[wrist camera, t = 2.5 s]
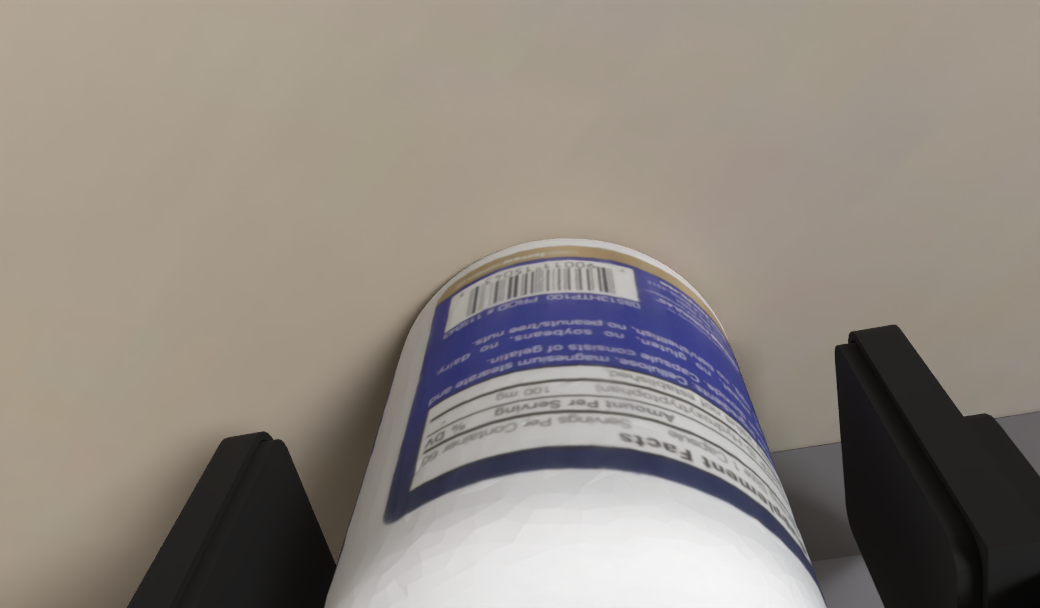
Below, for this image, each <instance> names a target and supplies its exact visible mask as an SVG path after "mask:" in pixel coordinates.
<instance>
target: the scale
mask: <svg viewBox="0 0 1040 608" xmlns="http://www.w3.org/2000/svg"><path fill="white" fill-rule="evenodd" d="M995 420H996V421H997V422H998V423H999V424H1000V426H1001V427H1002V428H1003V429H1004V431H1005V432H1006V433H1007V435H1008V436H1009V437H1010V438H1011V440H1012V441H1013V442H1014V444H1015V445H1016V446H1017V448H1018V449H1019V450H1020V451H1021V453H1022V454H1023V455H1024V457H1025V458H1026V459H1027V460H1028V462H1029V463H1030V464H1031V466H1032V467H1033V468H1034V469H1035V471H1036V472H1037V473H1038V475H1039V476H1040V412H1036V413H1029V414H1023V415H1016V416H1010V417H1003V418H997V419H995ZM770 454H771V457H772V460H773V463H774V465H775V468H776V471H777V474H778V476H779V479H780V482H781V484H782V486H783V489H784V491H785V493H786V496H787V499H788V501H789V504H790V507H791V510H792V512H793V515H794V518H795V520H796V523H797V527H798V529H799V532H800V534H801V537H802V540H803V543H804V545H805V548H806V551H807V553H808V556H809V558H810V560H811V563H812V565H813V567H814V571H815V574H816V577H817V580H818V583H819V586H820V588H821V591H822V593H823V596H824V599H825V602H826V605H827V608H884V605H883V603H882V601H881V598H880V596H879V594H878V591H877V589H876V587H875V585H874V582H873V580H872V578H871V575H870V573H869V571H868V568H867V566H866V564H865V562H864V559H863V557H862V555H861V552H860V550H859V548H858V545H857V543H856V541H855V539H854V536H853V534H852V531H851V528H850V525H849V521H848V516H847V511H846V503H845V489H844V475H843V462H842V448H841V442H840V443H834V444H827V445H820V446H814V447H807V448H801V449H794V450H788V451H781V452H775V453H770Z"/></svg>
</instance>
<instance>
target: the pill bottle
mask: <svg viewBox="0 0 1040 608" xmlns="http://www.w3.org/2000/svg"><path fill="white" fill-rule="evenodd" d="M324 608H827V605H826V602H825V599H824V596H823V593H822V591H821V588H820V586H819V583H818V580H817V577H816V574H815V571H814V567H813V565H812V563H811V560H810V558H809V556H808V553H807V551H806V548H805V545H804V543H803V540H802V537H801V534H800V532H799V529H798V527H797V523H796V520H795V518H794V515H793V512H792V510H791V507H790V504H789V501H788V499H787V496H786V493H785V491H784V489H783V486H782V484H781V482H780V479H779V476H778V474H777V471H776V468H775V465H774V463H773V460H772V457H771V454H770V451H769V448H768V446H767V443H766V440H765V437H764V435H763V432H762V430H761V427H760V425H759V422H758V419H757V416H756V413H755V411H754V408H753V405H752V402H751V400H750V397H749V394H748V392H747V389H746V386H745V383H744V381H743V378H742V375H741V372H740V370H739V367H738V364H737V361H736V359H735V356H734V353H733V350H732V348H731V346H730V344H729V341H728V338H727V336H726V334H725V331H724V329H723V327H722V325H721V323H720V321H719V320H718V318H717V316H716V315H715V313H714V312H713V310H712V309H711V308H710V306H709V305H708V304H707V302H706V301H705V300H704V299H703V297H702V296H701V295H700V294H699V293H698V292H697V291H696V290H695V289H694V288H693V287H692V286H691V285H690V284H689V283H688V282H687V281H686V280H685V279H683V278H682V277H681V276H680V275H678V274H677V273H676V272H674V271H673V270H671V269H670V268H668V267H667V266H665V265H664V264H662V263H660V262H659V261H657V260H655V259H653V258H651V257H649V256H647V255H645V254H643V253H640V252H638V251H636V250H633V249H630V248H627V247H624V246H621V245H617V244H613V243H608V242H604V241H597V240H589V239H577V238H565V239H548V240H539V241H533V242H527V243H523V244H519V245H515V246H512V247H509V248H506V249H504V250H501V251H498V252H496V253H493V254H491V255H488V256H486V257H485V258H483V259H481V260H479V261H477V262H475V263H474V264H472V265H470V266H469V267H467V268H466V269H464V270H463V271H461V272H460V273H459V274H457V275H456V276H455V277H454V278H452V279H451V280H450V281H449V282H448V283H446V284H445V285H444V286H443V287H442V288H441V289H440V290H439V291H438V292H437V293H436V294H435V295H434V296H433V297H432V299H431V300H430V301H429V302H428V303H427V305H426V306H425V307H424V309H423V310H422V311H421V312H420V314H419V315H418V317H417V319H416V321H415V322H414V324H413V326H412V328H411V330H410V332H409V334H408V337H407V339H406V341H405V344H404V347H403V350H402V353H401V356H400V359H399V362H398V366H397V369H396V371H395V374H394V377H393V381H392V385H391V388H390V392H389V395H388V399H387V402H386V405H385V408H384V412H383V416H382V419H381V422H380V426H379V429H378V432H377V435H376V439H375V442H374V446H373V449H372V453H371V457H370V460H369V462H368V465H367V469H366V472H365V475H364V479H363V482H362V485H361V488H360V492H359V495H358V498H357V501H356V504H355V508H354V511H353V514H352V517H351V520H350V523H349V526H348V529H347V533H346V536H345V539H344V543H343V546H342V549H341V553H340V556H339V559H338V563H337V566H336V569H335V573H334V576H333V579H332V582H331V586H330V588H329V591H328V594H327V597H326V601H325V605H324Z"/></svg>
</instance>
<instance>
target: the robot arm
mask: <svg viewBox="0 0 1040 608" xmlns="http://www.w3.org/2000/svg"><path fill="white" fill-rule="evenodd" d="M835 366H836V379H837V393H838V407H839V421H840V434H841V448H842V462H843V475H844V489H845V503H846V511H847V516H848V521H849V525H850V528H851V531H852V534H853V536H854V539H855V541H856V543H857V545H858V548H859V550H860V552H861V555H862V557H863V559H864V562H865V564H866V566H867V568H868V571H869V573H870V575H871V578H872V580H873V582H874V585H875V587H876V589H877V591H878V594H879V596H880V598H881V601H882V603H883V605H884V608H1040V476H1039V475H1038V473H1037V472H1036V471H1035V469H1034V468H1033V467H1032V466H1031V464H1030V463H1029V462H1028V460H1027V459H1026V458H1025V457H1024V455H1023V454H1022V453H1021V451H1020V450H1019V449H1018V448H1017V446H1016V445H1015V444H1014V442H1013V441H1012V440H1011V438H1010V437H1009V436H1008V435H1007V433H1006V432H1005V431H1004V429H1003V428H1002V427H1001V426H1000V424H999V423H998V422H997V421H996V420H995V419H994V418H993V417H992V416H991V415H988V414H985V413H984V414H978V415H971V416H965V417H963V415H962V414H961V412H960V411H959V410H958V408H957V407H956V406H955V404H954V403H953V401H952V400H951V399H950V397H949V396H948V394H947V393H946V392H945V390H944V389H943V388H942V386H941V385H940V383H939V382H938V381H937V379H936V378H935V376H934V375H933V374H932V372H931V371H930V370H929V368H928V367H927V365H926V364H925V363H924V361H923V360H922V358H921V357H920V356H919V354H918V353H917V352H916V350H915V349H914V347H913V346H912V345H911V343H910V342H909V340H908V339H907V338H906V336H905V335H904V334H903V332H902V331H901V329H900V328H899V327H898V326H897V325H888V326H882V327H876V328H871V329H865V330H859V331H853V332H850V334H849V338H848V344H843V345H837V346H836V347H835ZM335 569H336V564H335V562H334V559H333V557H332V555H331V552H330V550H329V547H328V545H327V543H326V540H325V538H324V535H323V533H322V531H321V528H320V526H319V523H318V521H317V519H316V516H315V514H314V511H313V509H312V507H311V504H310V502H309V499H308V497H307V495H306V492H305V490H304V487H303V485H302V483H301V480H300V478H299V475H298V473H297V470H296V468H295V466H294V463H293V461H292V458H291V456H290V454H289V451H288V449H287V447H286V445H285V443H284V442H283V441H282V440H279V439H277V440H273V438H272V437H271V436H270V435H269V434H268V433H267V432H264V431H263V432H257V433H251V434H245V435H240V436H234V437H228V438H225V439H224V440H223V441H222V442H221V443H220V445H219V447H218V448H217V450H216V452H215V454H214V455H213V457H212V459H211V461H210V462H209V464H208V466H207V468H206V469H205V471H204V473H203V475H202V476H201V478H200V480H199V482H198V483H197V485H196V487H195V489H194V491H193V492H192V494H191V496H190V498H189V499H188V501H187V503H186V505H185V506H184V508H183V510H182V512H181V513H180V515H179V517H178V519H177V520H176V522H175V524H174V526H173V527H172V529H171V531H170V533H169V534H168V536H167V538H166V540H165V542H164V543H163V545H162V547H161V549H160V550H159V552H158V554H157V556H156V557H155V559H154V561H153V563H152V564H151V566H150V568H149V570H148V571H147V573H146V575H145V577H144V578H143V580H142V582H141V584H140V585H139V587H138V589H137V591H136V593H135V594H134V596H133V598H132V600H131V601H130V603H129V605H128V607H127V608H324V605H325V601H326V597H327V594H328V591H329V588H330V586H331V582H332V579H333V576H334V573H335Z"/></svg>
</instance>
